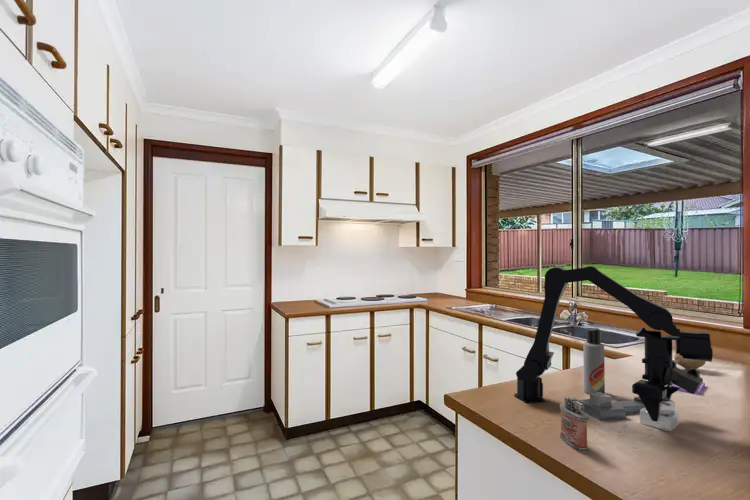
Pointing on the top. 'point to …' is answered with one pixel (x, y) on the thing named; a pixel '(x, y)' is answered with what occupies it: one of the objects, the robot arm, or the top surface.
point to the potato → (688, 362)
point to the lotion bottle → (594, 362)
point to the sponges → (688, 392)
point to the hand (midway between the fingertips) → (658, 417)
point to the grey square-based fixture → (662, 416)
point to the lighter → (574, 424)
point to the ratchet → (610, 406)
